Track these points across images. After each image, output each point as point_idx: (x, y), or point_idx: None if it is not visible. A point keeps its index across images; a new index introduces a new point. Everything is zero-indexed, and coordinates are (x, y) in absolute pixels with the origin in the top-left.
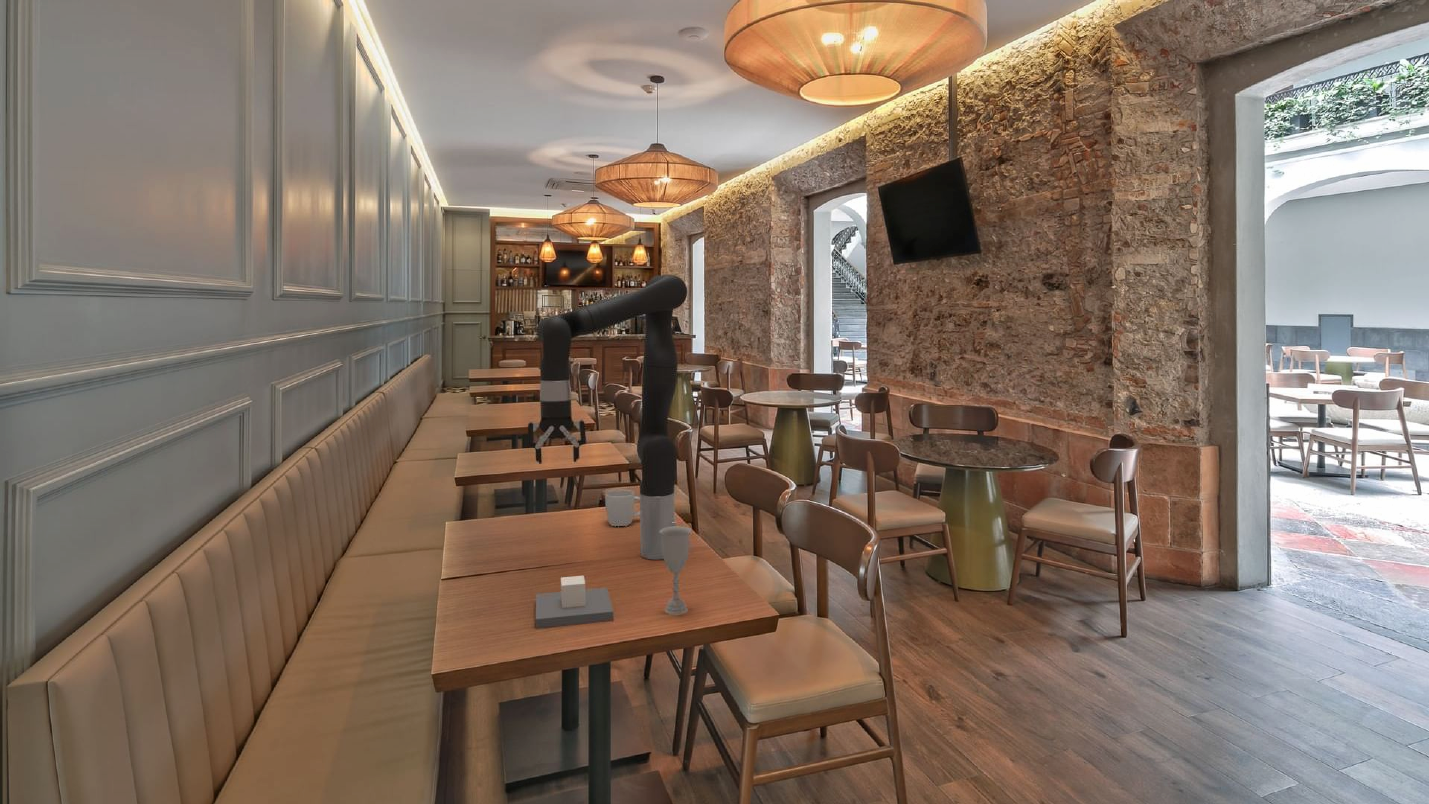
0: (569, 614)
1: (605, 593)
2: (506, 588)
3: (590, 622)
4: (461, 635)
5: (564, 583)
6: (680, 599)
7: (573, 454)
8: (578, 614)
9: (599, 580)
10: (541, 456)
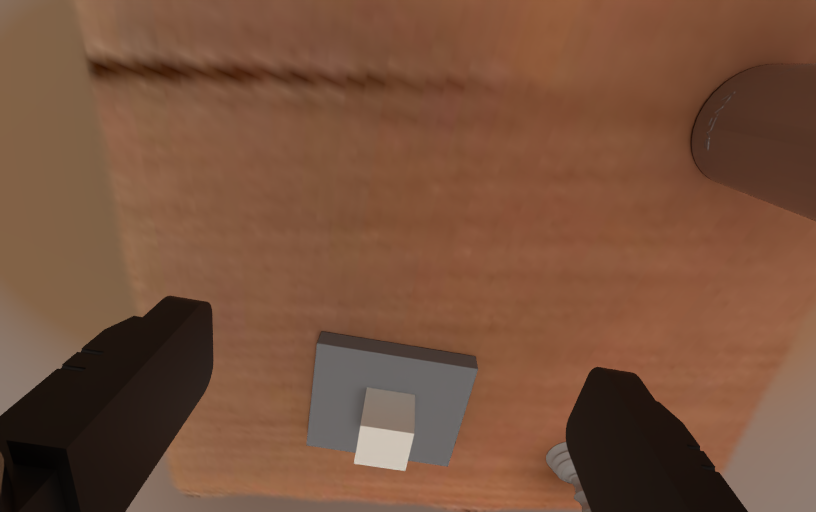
0: None
1: (462, 395)
2: (255, 221)
3: None
4: None
5: (362, 455)
6: None
7: (609, 479)
8: None
9: (492, 264)
10: (169, 356)
